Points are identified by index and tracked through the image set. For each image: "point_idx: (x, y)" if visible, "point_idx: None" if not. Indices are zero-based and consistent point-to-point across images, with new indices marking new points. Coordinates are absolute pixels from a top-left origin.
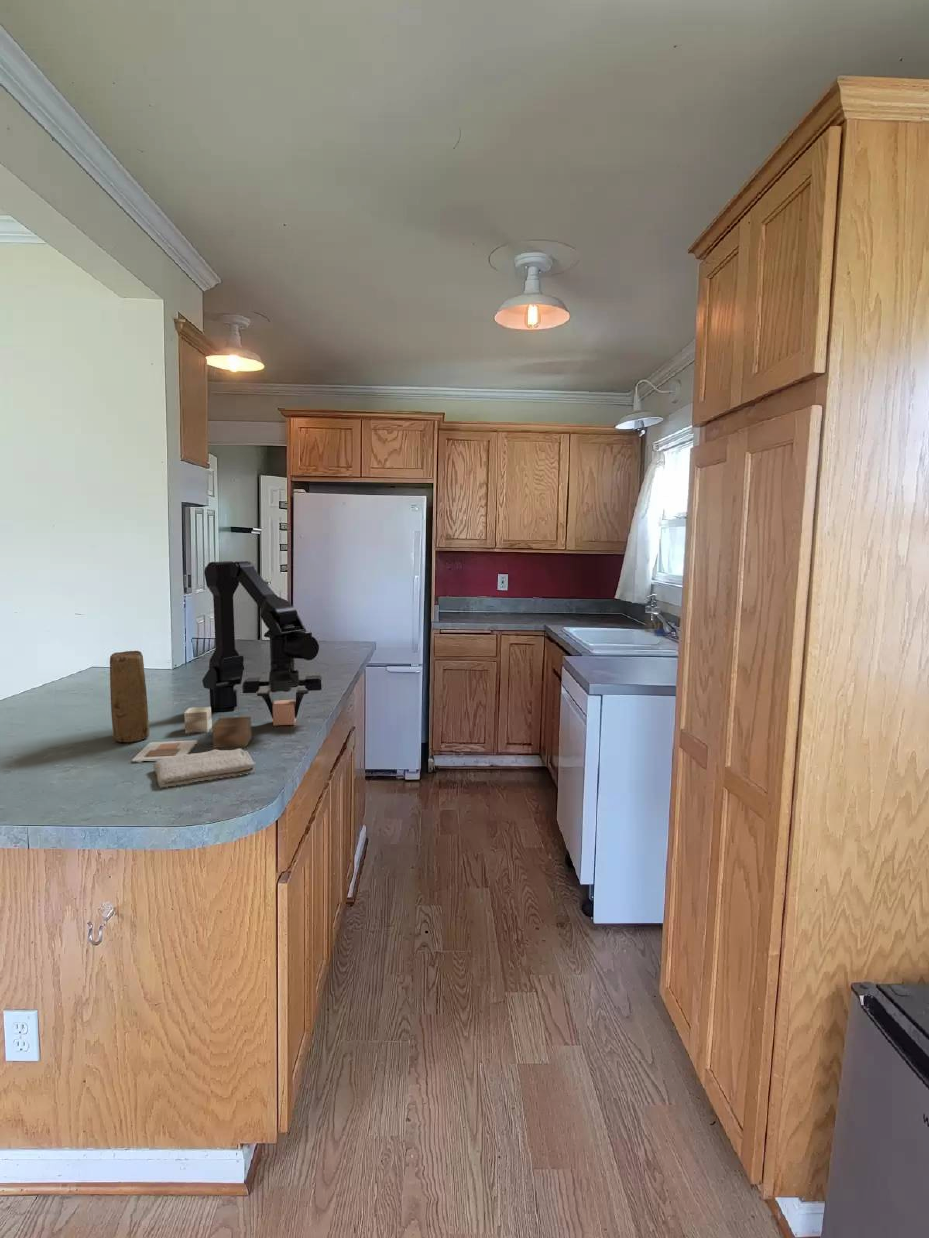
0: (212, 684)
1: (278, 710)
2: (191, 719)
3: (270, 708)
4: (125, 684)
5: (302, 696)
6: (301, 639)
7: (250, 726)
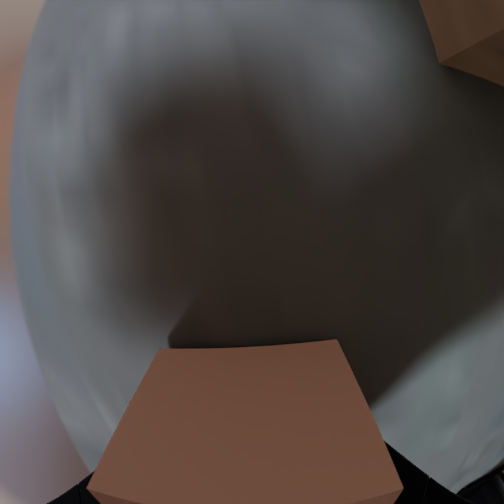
0: None
1: (307, 447)
2: None
3: (399, 473)
4: None
5: None
6: None
7: (481, 11)
